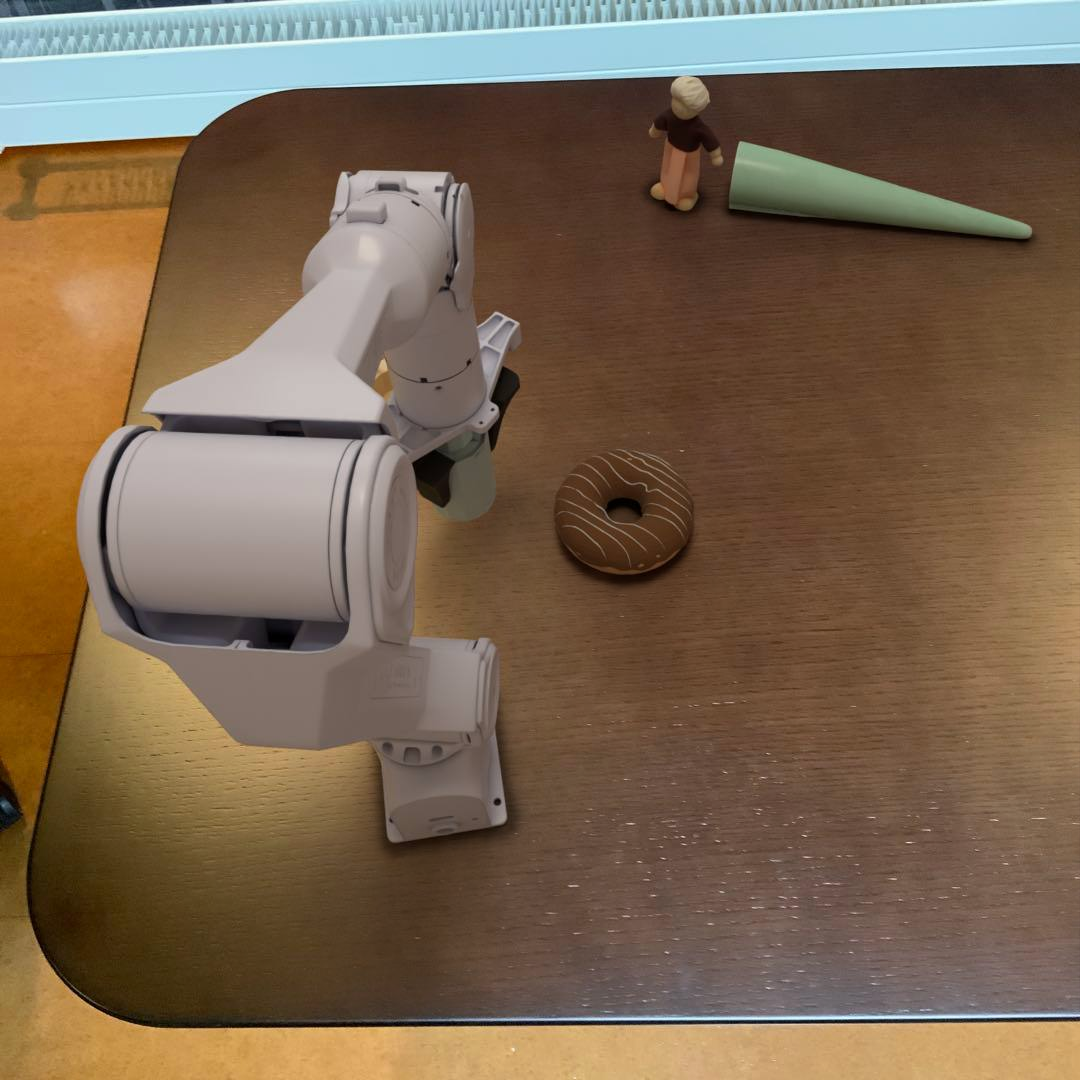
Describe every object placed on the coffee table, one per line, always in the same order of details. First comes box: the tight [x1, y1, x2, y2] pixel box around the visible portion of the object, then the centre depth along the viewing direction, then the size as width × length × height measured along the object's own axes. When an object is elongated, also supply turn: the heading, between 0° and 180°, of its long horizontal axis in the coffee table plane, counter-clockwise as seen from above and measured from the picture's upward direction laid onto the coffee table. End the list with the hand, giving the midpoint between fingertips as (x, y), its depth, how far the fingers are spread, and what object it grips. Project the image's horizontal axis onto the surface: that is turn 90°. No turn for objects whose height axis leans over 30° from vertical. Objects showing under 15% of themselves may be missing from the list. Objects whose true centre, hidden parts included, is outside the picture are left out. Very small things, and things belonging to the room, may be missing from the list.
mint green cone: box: [728, 140, 1033, 240], centre depth 94 cm, size 5×6×27 cm
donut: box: [553, 448, 695, 575], centre depth 79 cm, size 11×11×4 cm
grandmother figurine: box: [648, 75, 724, 212], centre depth 93 cm, size 8×4×13 cm, turn 62°
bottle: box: [430, 430, 497, 522], centre depth 72 cm, size 5×5×10 cm
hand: (457, 471), depth 74 cm, fingers closed on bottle, 5 cm apart
